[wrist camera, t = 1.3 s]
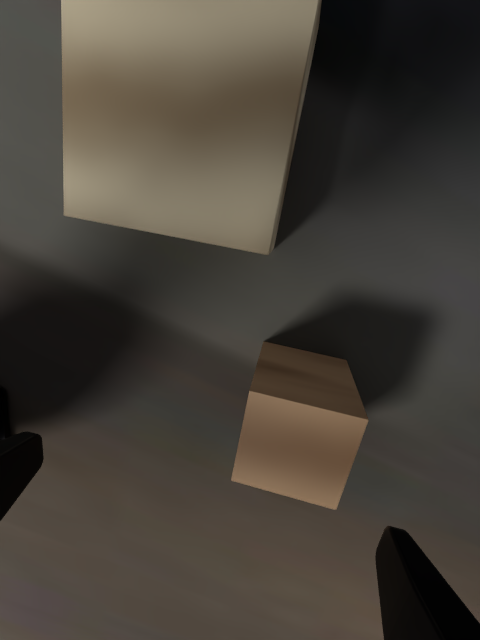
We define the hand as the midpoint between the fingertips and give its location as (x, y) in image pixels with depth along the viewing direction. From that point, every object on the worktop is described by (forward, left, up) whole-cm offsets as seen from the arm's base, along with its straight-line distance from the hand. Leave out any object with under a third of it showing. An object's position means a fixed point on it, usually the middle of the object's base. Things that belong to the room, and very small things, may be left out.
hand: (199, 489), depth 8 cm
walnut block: (-3, -3, -12) cm, 12 cm away
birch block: (+10, +5, -12) cm, 16 cm away
